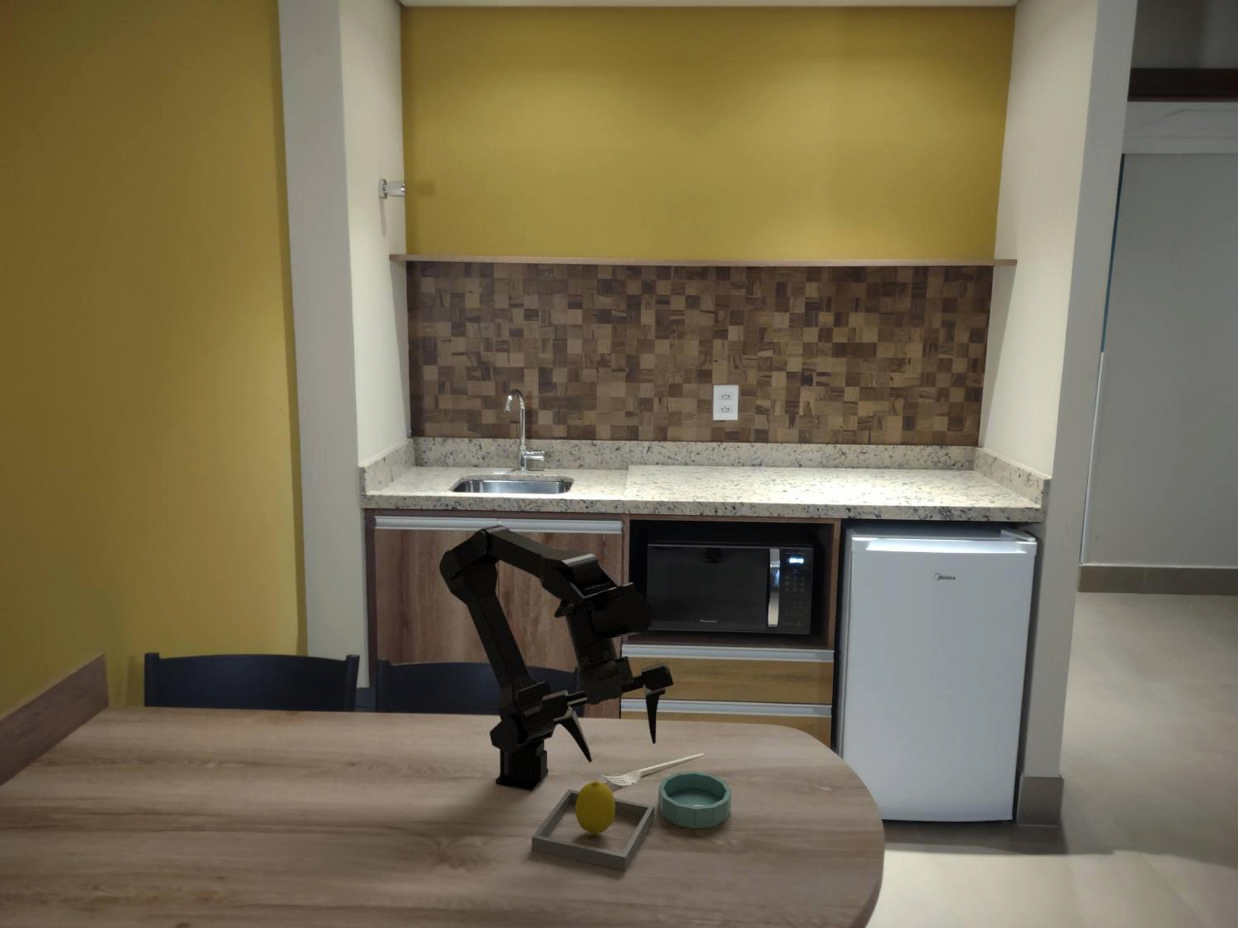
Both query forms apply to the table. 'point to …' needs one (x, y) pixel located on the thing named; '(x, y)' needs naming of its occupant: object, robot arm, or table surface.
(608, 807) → the lemon
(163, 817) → the table surface
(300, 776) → the table surface
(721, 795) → the bowl
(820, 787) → the table surface
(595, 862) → the parts tray
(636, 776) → the fork
